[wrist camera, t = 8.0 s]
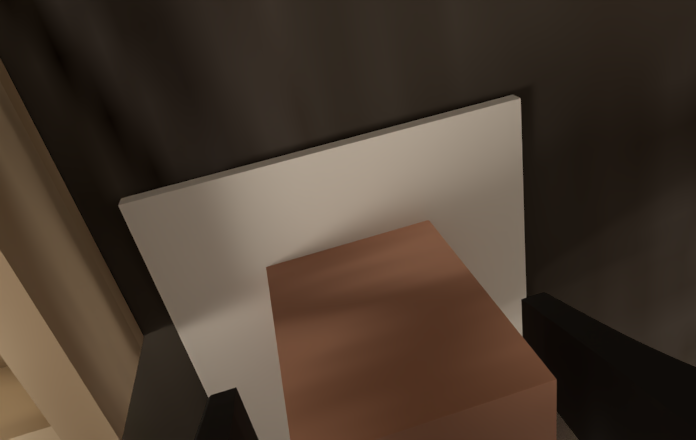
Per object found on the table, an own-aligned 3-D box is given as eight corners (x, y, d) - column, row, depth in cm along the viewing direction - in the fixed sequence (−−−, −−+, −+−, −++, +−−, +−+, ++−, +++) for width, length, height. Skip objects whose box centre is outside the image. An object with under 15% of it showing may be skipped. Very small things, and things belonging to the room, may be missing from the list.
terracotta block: (306, 387, 15) (349, 606, 10) (266, 266, 13) (293, 466, 8) (445, 343, 16) (555, 531, 11) (428, 220, 14) (556, 379, 8)
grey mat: (243, 463, 17) (244, 473, 16) (121, 197, 12) (118, 205, 12) (522, 372, 18) (528, 380, 17) (512, 94, 13) (520, 97, 13)
